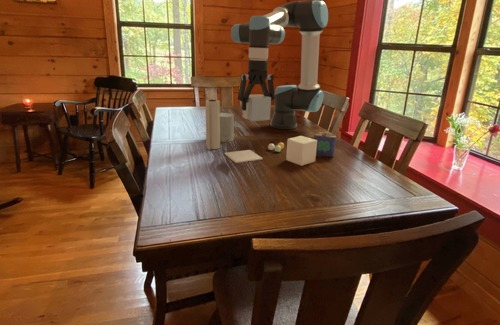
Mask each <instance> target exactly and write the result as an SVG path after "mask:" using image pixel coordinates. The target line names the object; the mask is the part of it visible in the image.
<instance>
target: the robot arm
mask: <svg viewBox="0 0 500 325" xmlns="http://www.w3.org/2000/svg"><path fill="white" fill-rule="evenodd" d="M328 22H329V10H328V6H327V4H326V2H325V1H323V0H302V1H301V0H296V1H295V0H294V1H291V2H287V3H285V4H282V5H279V6H277V7H275V8H274V9H273V10H272V12H269V13H266V14H264V15H252V16H251V17H250V19H249V21H247V22H246V23H236V24H233V26H232V27H231V30H230V36H231V39H232V41H233V42H234V43H237V44H248V59H249V60H248V63H247V67H248V68H247V70H248V71H247V73H245V74H240V84H239V89H238V93H237V100H238V101H240V102H241V109H242V110H244V118H243V119H246V120H248V107H249V103H248V102H247V100H248V98H249V95H251V93H252V91H253V89H254V87H255V86H256V85H259V86H260V88H261V90H262V93H263V95H264V96H268V97H271V102H272V101H273V100H274V107H273V108H274V110H273V111H274V112H273V114H272V117H271V119H270V123H269V124H270V125H269V126H270V127H271V128H273V129H278V130H293V129H296V128H297V126H298V122H297V118H296V111H302V112H303V111H304V112H308V113H315V112H318V111H319V110H320V108H321V106H322V104H323V100H324V91H323V90H321V85H320V84H318V77H319V76H318V74H319V73H318V72H319V56H320V53H319V52H320V35H321V34H322V33H323V31H324V28H326V27H327V25H328ZM286 27H287V28H299V29H298V33H300V34H301V56H300V57H301V58H300V59H301V60H300V63H301V64H300V83H299V84H298V85H296V84H288V85H287V84H286V85H279V86H276V88H275V84H274V78H275V75H274V74H268V67H269V66H268V64H269V61H268V59H269V48H270V47H269V46H270V45H279V44H281V43H282V42H284V39H285V38H286V37H285V36H286V31H285V29H284V28H286ZM247 80H248V82H247ZM266 80H267V82H266ZM242 110H241V111H242Z"/></svg>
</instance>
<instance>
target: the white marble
mask: <svg viewBox="0 0 500 325" xmlns="http://www.w3.org/2000/svg"><path fill="white" fill-rule="evenodd" d="M275 146H276V145H275V144H274V143H269V144H268V146H267V148H268V150H270V151H273V150H274V151H275Z"/></svg>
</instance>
